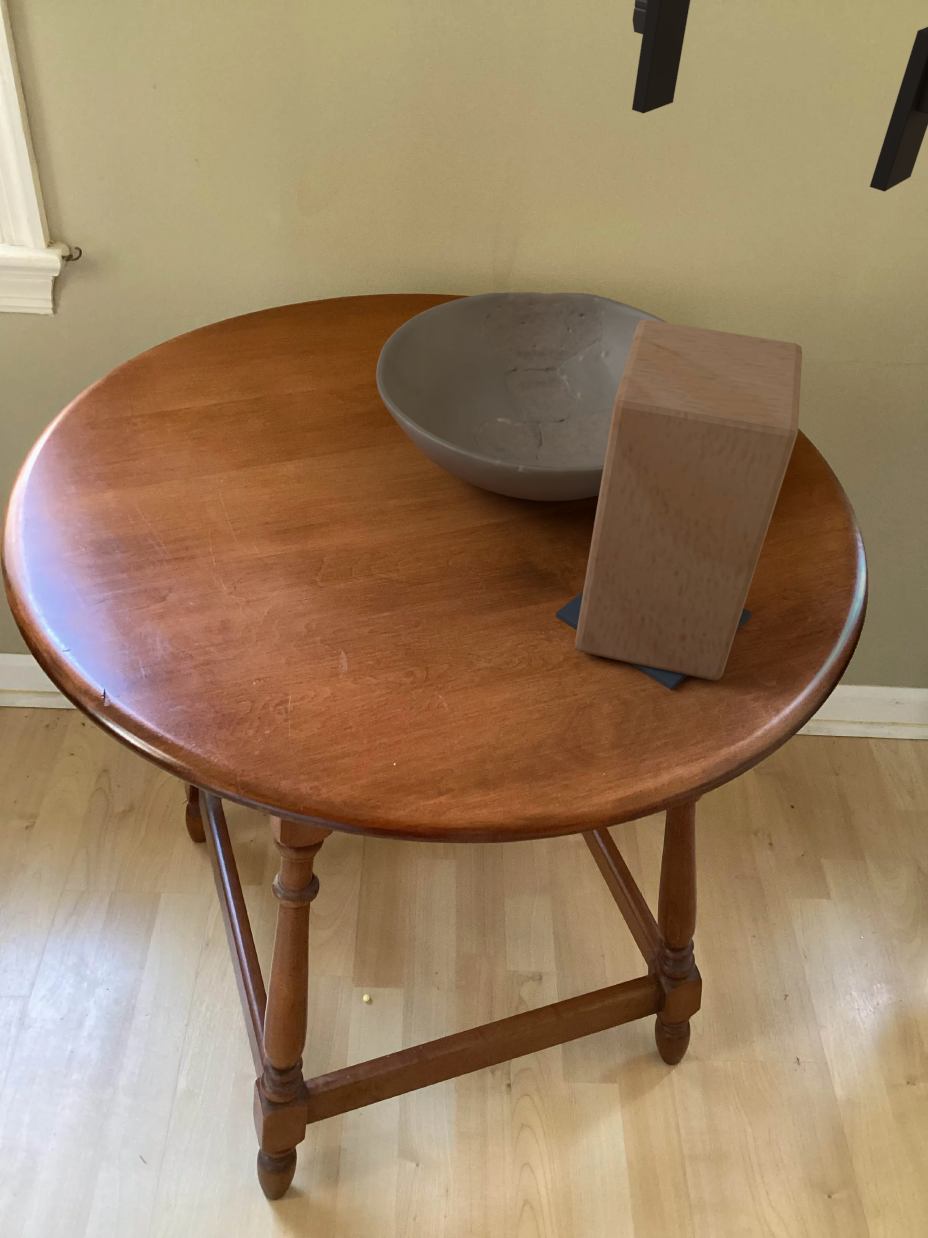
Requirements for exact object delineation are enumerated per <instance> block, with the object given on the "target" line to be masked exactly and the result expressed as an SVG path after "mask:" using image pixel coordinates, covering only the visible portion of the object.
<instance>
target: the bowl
mask: <svg viewBox="0 0 928 1238" xmlns="http://www.w3.org/2000/svg"><path fill="white" fill-rule="evenodd" d="M646 319H648V320H654V321H660V322H666V323H669V322H668V321H666V320H664V319H662V318H660V317H658V316H656V315H654V314H651V313H650V312H648V311H646V310H644V309H643V310H642V309H640V308H638V307H635V306H632V305H630V304H626V303H623V302H620V301H617V300H614V299H612V298H610V297H605V296H600V295H597V294H591V293H584V292H551V293H543V292H534V291H532V292H531V291H530V292H528V291H526V292H523V291H522V292H516V291H515V292H514V291H513V292H512V291H511V292H508V291H507V292H487V293H481V294H477V295H470V296H465V297H462V298H457V299H453V300H451V301H448V302H444V303H441V304H439V305H435V306H433V307H431V308H428V309H426V310H423V311H422V312H420V313H418V314H416V315H415V316H413V317H411V318H410V319H409V320H407V321H405V322H404V323H403V324H402V325H400V326H399V327H398V328H397V329H396V330H395V331H394V332H393V333H392V334H391V335H390V336H389V338H388V339H387V340H386V341H385V343H384V344H383V346H382V348H381V351H380V354H379V356H378V360H377V365H376V372H375V378H376V379H375V381H376V386H377V391H378V394H379V396H380V399H381V401H382V402H383V405H384V407H385V408H386V409H387V411H388V412H389V414H390V415H391V417H392V418H393V419H394V421H395V422H396V423H397V424H398V426H399V427H400V428H401V430H402V431H403V432H404V433H405V435H406V436H407V437H408V438H409V439H410V441H411V442H412V443H413V444H414V445H415V446H416V448H418V449H419V451H420V452H422V453H423V455H425V456H426V457H427V458H428V459H429V460H431V461H432V462H433V463H434V464H435V465H437V466H438V467H439V468H440V469H442V470H444V472H447V473H448V474H450V475H452V476H454V477H455V478H457V479H459V480H462V481H463V482H466V483H468V484H470V485H473V486H475V487H478V488H481V489H483V490H485V491H489V492H492V493H496V494H498V495H502V496H505V497H506V496H507V497H511V498H515V499H521V500H527V501H530V500H531V501H539V502H541V501H542V502H566V501H567V502H569V501H577V500H584V499H589V498H594V497H597V496H598V497H599V493H600V487H601V480H602V474H603V468H604V462H605V456H606V450H607V444H608V438H609V432H610V426H611V419H612V413H613V407H614V401H615V398H616V394H617V391H618V388H619V384H620V381H621V378H622V374H623V371H624V367H625V364H626V361H627V357H628V354H629V351H630V347H631V344H632V341H633V337H634V334H635V331H636V327H637V325H638V324H639V322H640V321H641V320H646Z"/></svg>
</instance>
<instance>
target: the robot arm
mask: <svg viewBox="0 0 928 1238" xmlns="http://www.w3.org/2000/svg"><path fill="white" fill-rule="evenodd" d="M690 5H691V0H634V7H633V13H632V27H633V32H634V33H637V34H640V35H642V36H641V37H642V38H641V44H640V51H639V56H638V57H639V58H638V65H637V73H636V80H635V86H634V93H633V100H632V104H631V105H632V106H631V111H635V112H638V113H640V114H646V113H648V112H651V111H654V110H657V109H659V108H662V107H666V106H668V105H670V104H672V103H674V98H675V93H676V88H677V82H678V76H679V70H680V65H681V64H680V63H681V58H682V52H683V46H684V40H685V34H686V28H687V23H688V18H689V17H688V16H689V11H690ZM927 129H928V26H926V27H923V28H920V29H918V30H917V31H916V35H915V38H914V41H913V44H912V47H911V51H910V54H909V57H908V61H907V64H906V67H905V69H904V74H903V77H902V80H901V84H900V87H899V91H898V94H897V96H896V100H895V103H894V106H893V110H892V112H891V116H890V119H889V123H888V126H887V129H886V132H885V136H884V139H883V142H882V146H881V149H880V151H879V155H878V157H877V158H878V159H877V161H876V164H875V165H876V166H875V168H874V171H873V173H872V176H871V177H872V178H871V181H870V185H869V188H872V189H875V190H878V191H881V192H883V193H884V192H887V191H889V190H890V189H892V188H894V187H895V186H897V185H899V184H901V183H902V182H904V181H906V180H908V179H910V178H911V177H912V174H913V171H914V168H915V165H916V162H917V159H918V156H919V152H920V150H921V147H922V144H923V142H924V138H925V135H926V132H927Z"/></svg>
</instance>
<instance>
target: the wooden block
mask: <svg viewBox="0 0 928 1238" xmlns="http://www.w3.org/2000/svg"><path fill="white" fill-rule="evenodd" d="M666 322H667V321H666ZM666 322H660V321H654V320H648V319H646V320H641V321H640V322H639V324H638V325H637V327H636V331H635V334H634V337H633V341H632V344H631V347H630V351H629V354H628V357H627V361H626V364H625V367H624V371H623V374H622V378H621V381H620V384H619V388H618V391H617V394H616V398H615V401H614V407H613V413H612V419H611V426H610V432H609V438H608V444H607V450H606V456H605V462H604V468H603V474H602V480H601V487H600V493H599V495H598V500H597V506H596V511H595V518H594V523H593V530H592V535H591V543H590V547H589V554H588V560H587V565H586V566H587V567H586V573H585V577H584V578H585V579H584V585H583V591H582V592H583V596H582V602H581V608H580V615H579V621H578V627H577V630H576V634H575V639H574V645H575V648H576V651H578V652H580V653H584V654H589V655H593V656H597V657H603V658H607V659H612V660H616V661H621V662H625V663H629V662H630V663H635V664H639V665H644V666H649V667H653V668H658V669H663V670H667V671H672V672H677V673H681V674H686V675H687V676H691V677H696V678H701V679H705V680H710V681H719V680H720V679H721V678H722V677H723V675H724V672H725V668H726V665H727V662H728V659H729V655H730V653H731V649H732V646H733V643H734V639H735V637H736V633H737V631H738V629H737V627H738V624H739V620H740V617H741V614H742V611H743V608H745V604H746V601H747V599H748V595H749V593H750V592H749V591H750V589H751V585H752V583H753V579H754V575H755V573H756V569H757V566H758V563H759V559H760V556H761V553H762V550H763V547H764V543H765V541H766V537H767V534H768V531H769V527H770V524H771V521H772V518H773V515H774V511H775V507H776V504H777V501H778V498H779V496H780V492H781V488H782V485H783V482H784V479H785V477H786V473H787V470H788V466H789V464H790V460H791V457H792V454H793V451H794V447H795V444H796V441H797V438H798V434H799V421H800V419H799V418H800V401H801V383H802V365H803V364H802V363H803V350H802V349H803V348H802V346H801V345H800V344H797V343H795V342H788V341H783V340H776V339H771V338H764V337H758V336H752V335H745V334H740V333H734V332H727V331H721V330H715V329H710V328H703V327H697V326H691V325H684V324H677V323H673V322H672V323H671V322H668V323H666ZM630 663H629V664H630Z"/></svg>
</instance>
